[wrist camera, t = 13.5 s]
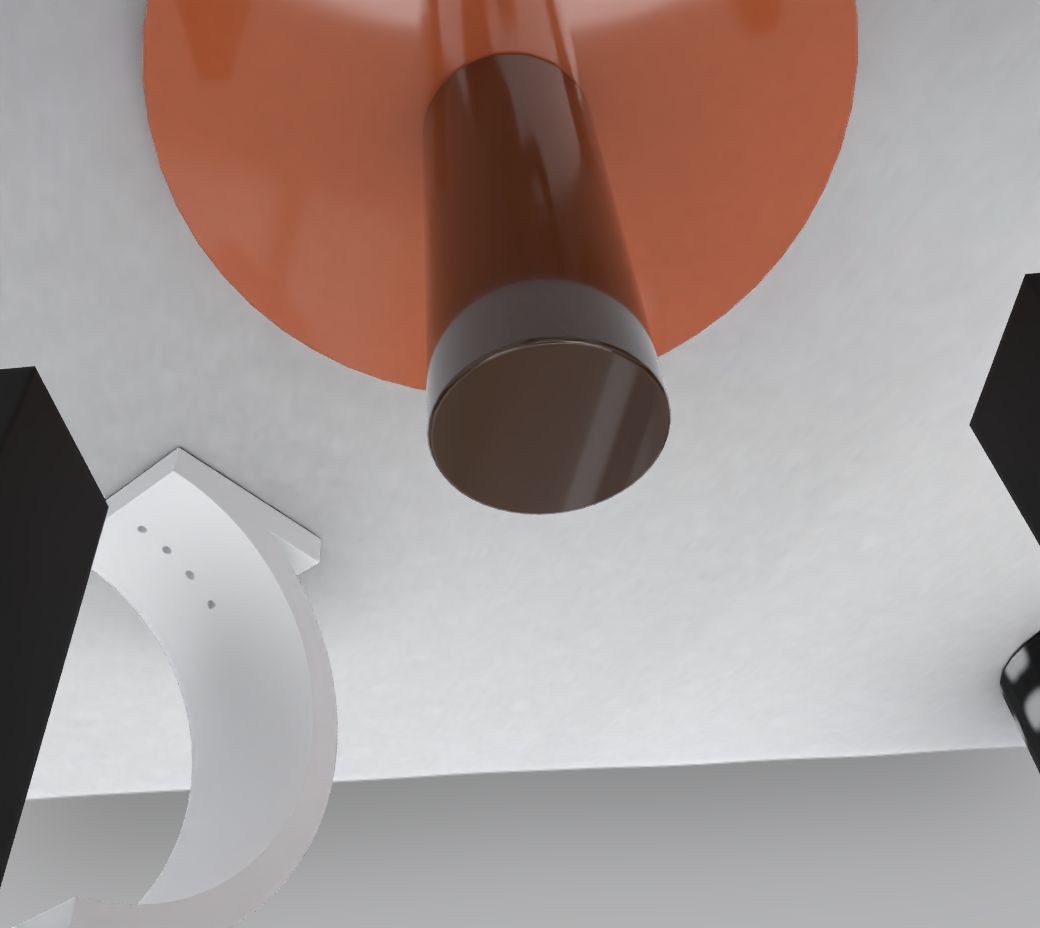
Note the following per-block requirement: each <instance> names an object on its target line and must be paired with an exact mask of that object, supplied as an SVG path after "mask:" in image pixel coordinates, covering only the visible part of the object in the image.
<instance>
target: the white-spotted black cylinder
mask: <svg viewBox="0 0 1040 928" xmlns="http://www.w3.org/2000/svg"><path fill="white" fill-rule="evenodd" d="M1000 684H1001V693H1002V695H1003V697H1004V699H1005V701H1006V703H1007V705H1008V707H1009V709H1010V712H1011V714H1012V716H1013V718H1014V720H1015V722H1016V724H1017V726H1018V728H1019V731H1020V733H1021V735H1022V737H1023V739H1024V741H1025V743H1026V745H1027V747H1028V749H1029V752H1030V754H1031V756H1032V758H1033V760H1034V762H1035V764H1036V766H1037V768H1038V771H1039V773H1040V634H1039V635H1037V636H1036V637H1035V638H1034V639H1032V640H1031V641H1030V642H1028V643H1027V644H1026V645H1024V646H1023V647H1022V648H1021V649H1020V651H1019V652H1018V653H1017V654H1016V655H1015V656H1014V657H1013V658H1012V659H1011V660H1010V662H1009V664H1008V665H1007V667H1006V668H1005V670H1004V672H1003V675H1002V679H1001V682H1000Z"/></svg>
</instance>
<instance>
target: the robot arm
mask: <svg viewBox="0 0 1040 928" xmlns="http://www.w3.org/2000/svg"><path fill="white" fill-rule="evenodd" d="M970 427H971V428H972V430H973V432H974V433H975V435H976V437H977V439H978V440H979V442H980V444H981V445H982V447H983V449H984V451H985V452H986V454H987V456H988V457H989V459H990V461H991V463H992V464H993V466H994V468H995V469H996V471H997V473H998V475H999V476H1000V478H1001V480H1002V481H1003V483H1004V485H1005V487H1006V488H1007V490H1008V492H1009V493H1010V495H1011V497H1012V499H1013V500H1014V502H1015V504H1016V505H1017V507H1018V509H1019V511H1020V512H1021V514H1022V516H1023V518H1024V519H1025V521H1026V523H1027V524H1028V526H1029V528H1030V530H1031V531H1032V533H1033V535H1034V536H1035V538H1036V540H1037V542H1038V543H1039V545H1040V273H1033V274H1025V277H1024V279H1023V282H1022V285H1021V288H1020V290H1019V293H1018V296H1017V298H1016V301H1015V304H1014V306H1013V309H1012V312H1011V314H1010V317H1009V320H1008V322H1007V325H1006V328H1005V331H1004V333H1003V336H1002V339H1001V341H1000V344H999V347H998V349H997V352H996V355H995V357H994V360H993V363H992V365H991V368H990V371H989V374H988V376H987V379H986V382H985V384H984V387H983V390H982V392H981V395H980V398H979V400H978V403H977V406H976V409H975V411H974V414H973V417H972V419H971V422H970ZM108 508H109V506H108V504H107V503H106V501H105V499H104V497H103V495H102V493H101V491H100V489H99V487H98V485H97V484H96V482H95V480H94V478H93V476H92V474H91V472H90V470H89V468H88V466H87V465H86V463H85V461H84V459H83V457H82V455H81V453H80V451H79V449H78V447H77V446H76V444H75V442H74V440H73V438H72V436H71V434H70V432H69V430H68V428H67V427H66V425H65V423H64V421H63V419H62V417H61V415H60V413H59V411H58V409H57V408H56V406H55V404H54V402H53V400H52V398H51V396H50V394H49V392H48V390H47V389H46V387H45V385H44V383H43V381H42V379H41V377H40V375H39V373H38V371H37V370H36V368H35V366H32V367H22V368H11V369H0V887H1V883H2V880H3V876H4V873H5V869H6V866H7V862H8V859H9V855H10V851H11V848H12V845H13V841H14V838H15V834H16V830H17V827H18V824H19V820H20V816H21V813H22V809H23V806H24V803H25V799H26V796H27V792H28V789H29V785H30V782H31V778H32V774H33V771H34V767H35V764H36V760H37V757H38V753H39V750H40V746H41V743H42V739H43V736H44V732H45V729H46V725H47V722H48V718H49V715H50V711H51V708H52V704H53V701H54V697H55V694H56V690H57V687H58V683H59V680H60V676H61V673H62V669H63V666H64V662H65V659H66V655H67V652H68V648H69V645H70V641H71V638H72V634H73V631H74V627H75V624H76V620H77V617H78V613H79V610H80V606H81V603H82V599H83V596H84V592H85V589H86V585H87V582H88V578H89V575H90V571H91V568H92V564H93V561H94V557H95V554H96V550H97V547H98V543H99V540H100V536H101V533H102V529H103V526H104V522H105V519H106V515H107V512H108Z"/></svg>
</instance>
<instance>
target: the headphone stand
mask: <svg viewBox="0 0 1040 928" xmlns="http://www.w3.org/2000/svg"><path fill="white" fill-rule="evenodd" d="M106 503H107V504H108V506H109V508H108V512H107V515H106V519H105V522H104V526H103V529H102V533H101V536H100V540H99V543H98V547H97V550H96V554H95V557H94V561H93V564H92V568H91V569H92V570H93V571H95V572H96V573H98V574H99V575H100V576H101V577H103V578H104V579H105V580H106V581H107V582H108V583H110V584H111V585H112V586H113V587H114V588H115V589H116V590H117V591H118V592H119V593H120V594H121V595H122V596H123V597H124V598H125V599H126V600H127V601H128V602H129V603H130V604H131V605H132V606H133V607H134V609H135V610H136V611H137V612H138V614H139V615H140V616H141V617H142V618H143V620H144V621H145V622H146V624H147V625H148V627H149V628H150V630H151V631H152V633H153V634H154V636H155V637H156V638H157V640H158V642H159V644H160V645H161V647H162V649H163V651H164V653H165V654H166V656H167V658H168V660H169V662H170V665H171V667H172V669H173V671H174V674H175V676H176V678H177V681H178V684H179V687H180V690H181V693H182V696H183V699H184V703H185V708H186V712H187V716H188V720H189V728H190V735H191V744H192V777H191V788H190V795H189V801H188V807H187V811H186V814H185V818H184V822H183V825H182V829H181V832H180V834H179V837H178V839H177V842H176V844H175V847H174V850H173V852H172V853H171V855H170V857H169V859H168V861H167V863H166V865H165V867H164V869H163V871H162V872H161V874H160V875H159V877H158V878H157V880H156V881H155V882H154V884H153V885H152V887H151V888H150V890H149V891H148V892H147V893H146V894H145V896H144V897H143V898H142V899H141V900H140V901H139V903H138V904H137V905H131V904H118V903H117V904H116V903H106V902H101V901H97V900H92V899H87V898H83V897H78V896H76V897H74V898H71V899H69V900H67V901H65V902H64V903H61V904H59V905H57V906H55V907H53V908H51V909H49V910H47V911H44V912H42V913H40V914H38V915H36V916H34V917H32V918H30V919H28V920H26V921H24V922H22V923H20V924H18V925H16V926H14V927H12V928H230V927H232V926H234V925H236V924H237V923H239V922H240V921H242V920H243V919H245V918H246V917H248V916H249V915H250V914H252V913H253V912H255V911H256V910H257V909H259V908H260V907H261V906H262V905H263V904H264V903H265V902H266V901H267V900H269V899H270V898H271V897H272V896H273V895H274V894H275V893H276V892H277V891H278V890H279V888H281V886H282V885H283V884H284V883H285V882H286V881H287V880H288V878H289V877H290V876H291V875H292V873H293V872H294V870H295V869H296V867H297V866H298V865H299V863H300V862H301V860H302V859H303V857H304V856H305V854H306V852H307V850H308V848H309V846H310V844H311V842H312V841H313V839H314V837H315V835H316V832H317V830H318V827H319V825H320V823H321V820H322V818H323V815H324V812H325V809H326V805H327V802H328V798H329V795H330V791H331V786H332V781H333V776H334V771H335V762H336V752H337V725H338V722H337V707H336V696H335V689H334V682H333V676H332V671H331V666H330V662H329V657H328V653H327V650H326V646H325V643H324V639H323V636H322V633H321V630H320V627H319V624H318V622H317V619H316V616H315V614H314V611H313V608H312V606H311V604H310V602H309V600H308V597H307V595H306V593H305V591H304V589H303V587H302V585H301V583H300V581H299V579H298V577H297V576H298V575H300V574H301V573H303V572H305V571H306V570H308V569H309V568H311V567H313V566H314V565H316V564H318V563H319V562H320V552H321V539H320V538H318V537H317V536H315V535H314V534H312V533H311V532H309V531H308V530H306V529H305V528H303V527H301V526H300V525H298V524H297V523H295V522H294V521H292V520H291V519H289V518H287V517H286V516H284V515H283V514H281V513H280V512H278V511H277V510H275V509H274V508H272V507H270V506H269V505H267V504H266V503H264V502H263V501H261V500H260V499H258V498H257V497H255V496H253V495H252V494H250V493H249V492H247V491H246V490H244V489H243V488H241V487H240V486H238V485H236V484H235V483H233V482H232V481H230V480H229V479H227V478H226V477H224V476H222V475H221V474H219V473H218V472H216V471H215V470H213V469H212V468H210V467H209V466H207V465H205V464H204V463H202V462H201V461H199V460H198V459H196V458H195V457H193V456H192V455H190V454H188V453H187V452H185V451H184V450H182V449H181V448H179V447H178V448H177V449H176V450H174V451H173V452H172V453H170V454H169V455H167V456H166V457H165V458H163V459H162V460H161V461H159V462H158V463H156V464H155V465H154V466H152V467H151V468H150V469H148V470H147V471H145V472H144V473H143V474H141V475H140V476H139V477H137V478H136V479H134V480H133V481H132V482H130V483H129V484H128V485H126V486H125V487H123V488H122V489H121V490H119V491H118V492H117V493H115V494H114V495H112V496H111V497H110V498H108V499H107V500H106Z"/></svg>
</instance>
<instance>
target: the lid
mask: <svg viewBox="0 0 1040 928" xmlns="http://www.w3.org/2000/svg"><path fill="white" fill-rule="evenodd" d="M857 64H858V15H857V8H856V1H855V0H148V1H147V7H146V14H145V20H144V26H143V68H142V79H143V86H144V94H145V102H146V109H147V117H148V124H149V128H150V132H151V135H152V139H153V143H154V146H155V150H156V153H157V157H158V161H159V164H160V168H161V170H162V172H163V175H164V177H165V180H166V182H167V184H168V187H169V189H170V191H171V194H172V196H173V198H174V201H175V203H176V206H177V208H178V209H179V211H180V213H181V215H182V216H183V218H184V220H185V221H186V223H187V225H188V227H189V228H190V230H191V232H192V233H193V235H194V237H195V239H196V240H197V242H198V244H199V245H200V246H201V248H202V249H203V250H204V252H205V253H206V254H207V255H208V257H209V258H210V259H211V261H212V262H213V263H214V265H215V266H216V267H217V269H218V270H219V271H220V273H221V274H222V275H223V276H224V277H225V278H226V279H227V280H228V281H229V283H230V284H231V285H232V286H233V287H234V288H235V289H236V290H237V291H238V292H239V293H240V294H241V295H242V296H243V297H244V298H245V299H246V300H247V301H248V302H249V303H250V304H251V305H252V306H253V307H255V308H256V309H257V310H258V311H259V312H261V313H262V314H263V315H264V316H266V317H267V318H268V319H269V320H270V321H272V322H273V323H274V324H275V325H277V326H278V327H279V328H280V329H282V330H283V331H285V332H286V333H288V334H289V335H291V336H293V337H294V338H296V339H297V340H299V341H300V342H302V343H303V344H305V345H307V346H308V347H310V348H311V349H313V350H315V351H317V352H319V353H321V354H323V355H325V356H327V357H329V358H331V359H333V360H335V361H337V362H339V363H341V364H343V365H345V366H347V367H349V368H352V369H355V370H357V371H360V372H363V373H365V374H368V375H371V376H373V377H376V378H379V379H381V380H385V381H389V382H393V383H397V384H401V385H404V386H408V387H412V388H416V389H422V390H426V396H427V437H428V445H429V449H430V453H431V456H432V458H433V460H434V462H435V464H436V466H437V467H438V469H439V470H440V472H441V473H442V475H443V476H444V477H445V478H446V479H447V480H448V482H449V483H450V484H451V485H452V486H454V487H455V488H456V489H457V490H459V491H460V492H461V493H463V494H464V495H466V496H467V497H469V498H471V499H472V500H475V501H477V502H479V503H481V504H483V505H486V506H489V507H492V508H495V509H498V510H503V511H507V512H512V513H520V514H536V515H541V514H556V513H564V512H570V511H574V510H579V509H583V508H586V507H589V506H592V505H595V504H598V503H600V502H603V501H605V500H607V499H609V498H611V497H613V496H615V495H617V494H619V493H621V492H622V491H624V490H625V489H627V488H628V487H630V486H631V485H633V484H634V483H635V482H636V481H637V480H639V479H640V478H641V477H642V476H643V475H644V474H645V473H646V472H647V471H648V470H649V469H650V468H651V467H652V465H653V464H654V462H655V461H656V460H657V458H658V457H659V455H660V453H661V451H662V449H663V447H664V445H665V442H666V440H667V437H668V434H669V429H670V423H671V408H670V403H669V398H668V394H667V391H666V387H665V383H664V380H663V376H662V372H661V368H660V365H659V361H658V356H661V355H663V354H665V353H667V352H668V351H670V350H672V349H673V348H675V347H677V346H678V345H680V344H682V343H684V342H685V341H687V340H689V339H690V338H692V337H694V336H695V335H697V334H698V333H700V332H701V331H703V330H704V329H705V328H707V327H708V326H709V325H711V324H712V323H713V322H715V321H716V320H717V319H719V318H720V317H722V316H723V315H724V314H726V313H727V312H728V311H729V310H730V309H731V308H733V307H734V306H735V305H736V304H737V303H738V302H739V301H740V300H741V299H742V298H744V297H745V296H746V295H747V294H748V293H749V292H750V291H751V290H752V289H753V288H755V287H756V286H757V285H758V283H759V282H760V281H761V280H762V279H763V278H764V277H765V276H766V274H767V273H768V272H769V271H770V270H771V269H772V268H773V266H774V265H775V264H776V263H777V262H778V261H779V260H780V259H781V257H782V256H783V255H784V253H785V252H786V251H787V249H788V248H789V246H790V245H791V244H792V242H793V241H794V239H795V238H796V236H797V235H798V234H799V232H800V231H801V229H802V228H803V227H804V225H805V224H806V222H807V220H808V218H809V216H810V215H811V213H812V211H813V209H814V207H815V205H816V204H817V202H818V200H819V198H820V196H821V194H822V193H823V191H824V189H825V187H826V184H827V182H828V179H829V177H830V174H831V172H832V169H833V167H834V164H835V162H836V159H837V157H838V155H839V152H840V150H841V146H842V142H843V139H844V135H845V131H846V127H847V123H848V120H849V116H850V112H851V108H852V103H853V95H854V87H855V80H856V72H857Z"/></svg>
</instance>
